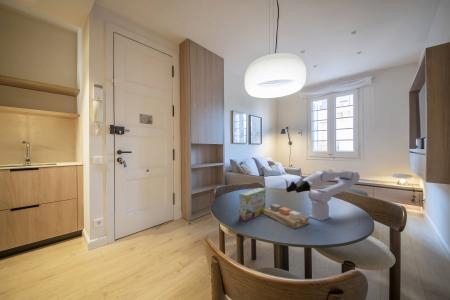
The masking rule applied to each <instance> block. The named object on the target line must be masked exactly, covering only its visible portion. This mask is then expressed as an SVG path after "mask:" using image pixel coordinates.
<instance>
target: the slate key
mask: <svg viewBox="0 0 450 300" xmlns="http://www.w3.org/2000/svg"><path fill="white" fill-rule="evenodd" d="M281 207H282V205H280V204H277V203H274V204H270V208H271V210H273V211H275V212H277V211H279V208H281Z"/></svg>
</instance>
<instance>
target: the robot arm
mask: <svg viewBox="0 0 450 300" xmlns="http://www.w3.org/2000/svg"><path fill="white" fill-rule="evenodd" d="M336 178H337V183H336V184H333V185H330V186H327V187H325V188H316V189H314V188H315V186H316V185H318V184H320V183H327V182H328V181H332V180H335V179H336ZM359 180H360V173H359V172H357V171H350V170H349V171H348V170H340V169H339V170H336V171H335V170H332V169H331V168H328V169H327V170H324V169H323V170H321V171H320V170H314V171H313V172H312V174H311V175H308V176H307V177H306V176H305V178H303V177H299V180H298V181H291V182H290V184H289V185H288V186H287V187H285V190H286V192H287V193H291V192H295V193H297V194H298V193H302V192H303V193H304V192H308V198H309V199H310V202H311V214H308V216H307V217H308V218H312V219H315V220H318V221H321V222H322V221H325V220H327V219H330V218H331V216H330V214H329V213H330V206H329V203H328V202H329V201H331V200H332V197H333V196H335V195H338V194H341V193H343V192H345V191H348V190H350V189H351V188H352V186H353V185H356V184H359V182H360V181H359Z"/></svg>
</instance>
